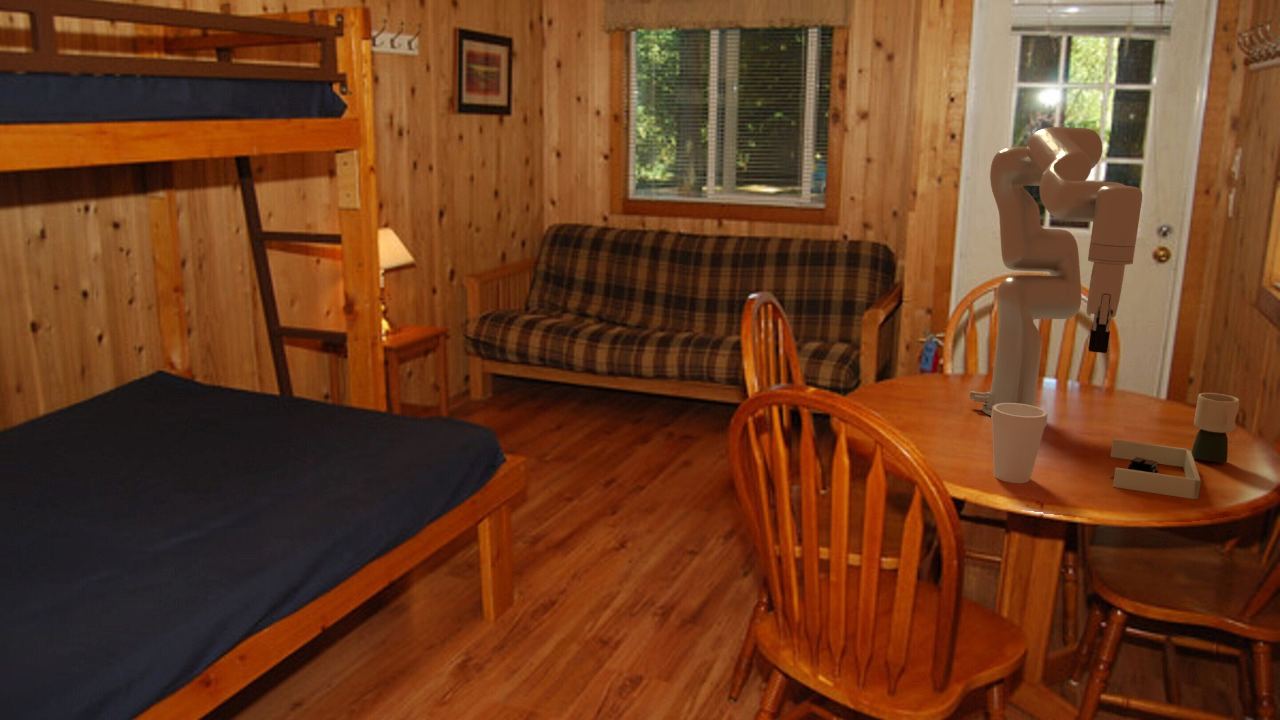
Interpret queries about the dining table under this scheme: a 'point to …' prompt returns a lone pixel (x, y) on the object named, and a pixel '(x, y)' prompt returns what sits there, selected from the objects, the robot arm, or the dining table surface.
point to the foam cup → (1016, 440)
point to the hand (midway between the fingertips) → (1097, 351)
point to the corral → (1155, 481)
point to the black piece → (1143, 465)
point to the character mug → (1214, 425)
